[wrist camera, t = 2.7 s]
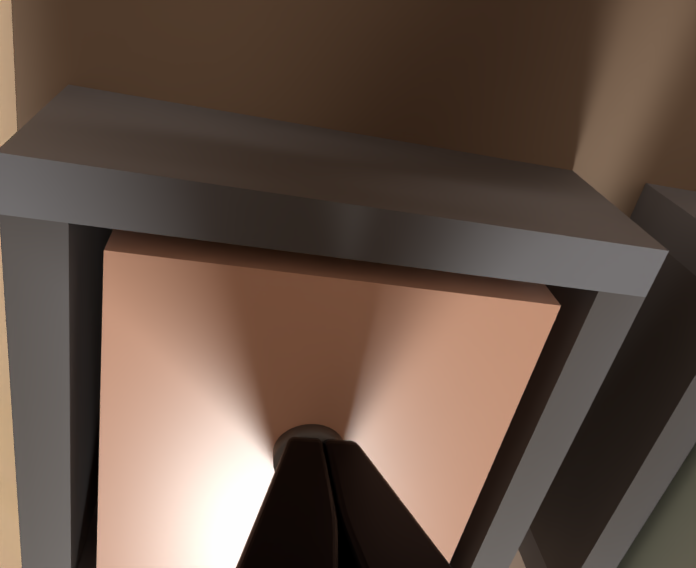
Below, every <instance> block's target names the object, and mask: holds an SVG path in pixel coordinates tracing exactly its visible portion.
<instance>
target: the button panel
mask: <svg viewBox="0 0 696 568" xmlns="http://www.w3.org/2000/svg"><path fill="white" fill-rule="evenodd" d="M11 1H12V23H13V45H14V66H15V88H16V110H17V131H18V132H16V133H15V134H14V135H13V136H12V137H11V138H10V139H9V140H8V141H7V142H6V143H5V144H4V145H2V146H1V147H0V234H1V249H2V265H3V280H4V296H5V311H6V327H7V342H8V358H9V373H10V389H11V404H12V420H13V435H14V451H15V466H16V482H17V497H18V513H19V528H20V544H21V559H22V568H96V566H97V522H98V478H99V434H100V390H101V346H102V303H103V259H104V248H105V246H106V244H107V242H108V240H109V237H110V235H111V233H112V231H113V229H118V230H125V231H133V232H141V233H149V234H157V235H164V236H172V237H180V238H188V239H196V240H203V241H211V242H219V243H227V244H235V245H242V246H250V247H258V248H266V249H274V250H281V251H289V252H297V253H305V254H313V255H320V256H328V257H336V258H344V259H352V260H359V261H367V262H375V263H383V264H391V265H398V266H406V267H414V268H422V269H429V270H437V271H445V272H453V273H461V274H468V275H476V276H484V277H492V278H500V279H507V280H515V281H523V282H531V283H539V284H545V285H546V287H547V288H548V289H549V290H550V292H551V293H552V294H553V296H554V297H555V298H556V300H557V301H558V302H559V304H560V305H561V307H560V310H559V312H558V314H557V316H556V319H555V321H554V323H553V326H552V328H551V330H550V333H549V335H548V337H547V339H546V342H545V344H544V346H543V349H542V351H541V353H540V356H539V358H538V360H537V363H536V365H535V367H534V369H533V372H532V374H531V376H530V379H529V381H528V383H527V386H526V388H525V390H524V393H523V395H522V397H521V399H520V402H519V404H518V406H517V409H516V411H515V413H514V416H513V418H512V420H511V422H510V425H509V427H508V429H507V432H506V434H505V436H504V439H503V441H502V443H501V446H500V448H499V450H498V452H497V455H496V457H495V459H494V462H493V464H492V466H491V469H490V471H489V473H488V476H487V478H486V480H485V482H484V485H483V487H482V489H481V492H480V494H479V496H478V499H477V501H476V503H475V505H474V508H473V510H472V512H471V515H470V517H469V519H468V522H467V524H466V526H465V529H464V531H463V533H462V535H461V538H460V540H459V542H458V545H457V547H456V549H455V552H454V554H453V556H452V558H451V561H450V563H449V564H450V565H451V567H452V568H617V566H618V565H619V563H620V562H621V560H622V558H623V557H624V555H625V554H626V552H627V551H628V549H629V547H630V546H631V544H632V543H633V541H634V539H635V538H636V536H637V535H638V533H639V532H640V530H641V528H642V527H643V525H644V524H645V522H646V520H647V519H648V517H649V516H650V514H651V513H652V511H653V509H654V508H655V506H656V505H657V503H658V501H659V500H660V498H661V497H662V495H663V494H664V492H665V490H666V489H667V487H668V486H669V484H670V483H671V481H672V479H673V478H674V476H675V475H676V473H677V471H678V470H679V468H680V467H681V465H682V464H683V462H684V460H685V459H686V457H687V456H688V454H689V452H690V451H691V449H692V448H693V446H694V445H695V443H696V0H11Z"/></svg>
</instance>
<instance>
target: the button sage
mask: <svg viewBox="0 0 696 568" xmlns="http://www.w3.org/2000/svg"><path fill="white" fill-rule="evenodd" d="M617 568H696V443H695V445H694V446H693V448H692V449H691V451H690V452H689V454H688V456H687V457H686V459H685V460H684V462H683V464H682V465H681V467H680V468H679V470H678V471H677V473H676V475H675V476H674V478H673V479H672V481H671V483H670V484H669V486H668V487H667V489H666V490H665V492H664V494H663V495H662V497H661V498H660V500H659V501H658V503H657V505H656V506H655V508H654V509H653V511H652V513H651V514H650V516H649V517H648V519H647V520H646V522H645V524H644V525H643V527H642V528H641V530H640V532H639V533H638V535H637V536H636V538H635V539H634V541H633V543H632V544H631V546H630V547H629V549H628V551H627V552H626V554H625V555H624V557H623V558H622V560H621V562H620V563H619V565H618V566H617Z"/></svg>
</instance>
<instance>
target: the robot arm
mask: <svg viewBox="0 0 696 568" xmlns="http://www.w3.org/2000/svg"><path fill="white" fill-rule="evenodd" d="M236 568H452V567H451V565H450V564H449V563H448V561H447V560H446V559H445V557H444V556H443V555H442V553H441V552H440V551H439V550H438V548H437V547H436V546H435V544H434V543H433V542H432V540H431V539H430V538H429V536H428V535H427V534H426V532H425V531H424V530H423V528H422V527H421V526H420V525H419V523H418V522H417V521H416V519H415V518H414V517H413V515H412V514H411V513H410V511H409V510H408V509H407V507H406V506H405V505H404V503H403V502H402V501H401V500H400V498H399V497H398V496H397V494H396V493H395V492H394V490H393V489H392V488H391V486H390V485H389V484H388V482H387V481H386V480H385V478H384V477H383V476H382V475H381V473H380V472H379V471H378V469H377V468H376V467H375V465H374V464H373V463H372V461H371V460H370V459H369V457H368V456H367V455H366V453H365V452H364V451H363V450H362V448H361V447H360V446H359V445H358V444H357V443H356V442H354V441H351V440H336V439H327V440H325V441H323V443H322V441H321V440H320V439H318V438H307V437H291V438H289V439H288V441H287V443H286V446H285V448H284V451H283V453H282V455H281V458H280V460H279V463H278V465H277V468H276V470H275V473H274V475H273V478H272V480H271V482H270V485H269V487H268V490H267V492H266V495H265V497H264V500H263V502H262V505H261V507H260V509H259V512H258V514H257V517H256V519H255V522H254V524H253V527H252V529H251V532H250V534H249V536H248V539H247V541H246V544H245V546H244V549H243V551H242V554H241V556H240V559H239V561H238V563H237V566H236Z"/></svg>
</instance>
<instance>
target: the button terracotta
mask: <svg viewBox="0 0 696 568" xmlns="http://www.w3.org/2000/svg"><path fill="white" fill-rule="evenodd" d="M560 307H561V305H560V304H559V302H558V301H557V300H556V298H555V297H554V296H553V294H552V293H551V292H550V290H549V289H548V288H547V287H546V285H545V284H539V283H531V282H523V281H515V280H507V279H500V278H492V277H484V276H476V275H468V274H461V273H453V272H445V271H437V270H429V269H422V268H414V267H406V266H398V265H391V264H383V263H375V262H367V261H359V260H352V259H344V258H336V257H328V256H320V255H313V254H305V253H297V252H289V251H281V250H274V249H266V248H258V247H250V246H242V245H235V244H227V243H219V242H211V241H203V240H196V239H188V238H180V237H172V236H164V235H157V234H149V233H141V232H133V231H125V230H118V229H113V231H112V233H111V235H110V237H109V240H108V242H107V244H106V246H105V248H104V259H103V303H102V346H101V390H100V434H99V478H98V522H97V566H96V568H236V566H237V563H238V561H239V559H240V556H241V554H242V551H243V549H244V546H245V544H246V541H247V539H248V536H249V534H250V532H251V529H252V527H253V524H254V522H255V519H256V517H257V514H258V512H259V509H260V507H261V505H262V502H263V500H264V497H265V495H266V492H267V490H268V487H269V485H270V482H271V480H272V478H273V475H274V473H275V470H276V468H277V465H278V463H279V460H280V458H281V455H282V453H283V451H284V448H285V446H286V443H287V441H288V439H289V438H291V437H307V438H318V439H320V440H321V441H322V443H323V441H325V440H327V439H336V440H351V441H354V442H356V443H357V444H358V445H359V446H360V447H361V448H362V450H363V451H364V452H365V453H366V455H367V456H368V457H369V459H370V460H371V461H372V463H373V464H374V465H375V467H376V468H377V469H378V471H379V472H380V473H381V475H382V476H383V477H384V478H385V480H386V481H387V482H388V484H389V485H390V486H391V488H392V489H393V490H394V492H395V493H396V494H397V496H398V497H399V498H400V500H401V501H402V502H403V503H404V505H405V506H406V507H407V509H408V510H409V511H410V513H411V514H412V515H413V517H414V518H415V519H416V521H417V522H418V523H419V525H420V526H421V527H422V528H423V530H424V531H425V532H426V534H427V535H428V536H429V538H430V539H431V540H432V542H433V543H434V544H435V546H436V547H437V548H438V550H439V551H440V552H441V553H442V555H443V556H444V557H445V559H446V560H447V561H448V563H450V561H451V558H452V556H453V554H454V552H455V549H456V547H457V545H458V542H459V540H460V538H461V535H462V533H463V531H464V529H465V526H466V524H467V522H468V519H469V517H470V515H471V512H472V510H473V508H474V505H475V503H476V501H477V499H478V496H479V494H480V492H481V489H482V487H483V485H484V482H485V480H486V478H487V476H488V473H489V471H490V469H491V466H492V464H493V462H494V459H495V457H496V455H497V452H498V450H499V448H500V446H501V443H502V441H503V439H504V436H505V434H506V432H507V429H508V427H509V425H510V422H511V420H512V418H513V416H514V413H515V411H516V409H517V406H518V404H519V402H520V399H521V397H522V395H523V393H524V390H525V388H526V386H527V383H528V381H529V379H530V376H531V374H532V372H533V369H534V367H535V365H536V363H537V360H538V358H539V356H540V353H541V351H542V349H543V346H544V344H545V342H546V339H547V337H548V335H549V333H550V330H551V328H552V326H553V323H554V321H555V319H556V316H557V314H558V312H559V310H560Z"/></svg>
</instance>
